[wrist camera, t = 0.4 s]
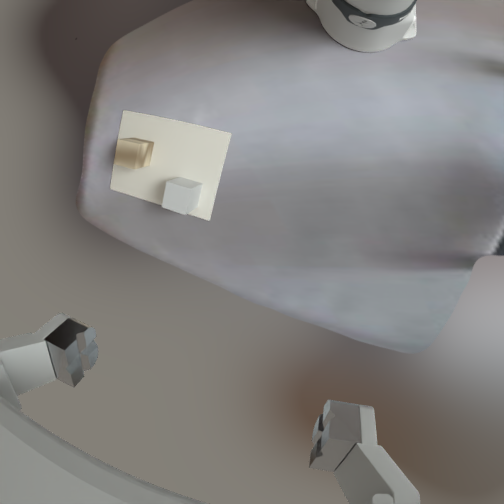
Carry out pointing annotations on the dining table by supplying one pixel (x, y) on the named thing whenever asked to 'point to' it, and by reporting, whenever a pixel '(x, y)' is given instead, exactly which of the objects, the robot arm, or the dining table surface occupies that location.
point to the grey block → (181, 195)
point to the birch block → (133, 153)
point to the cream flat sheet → (172, 159)
